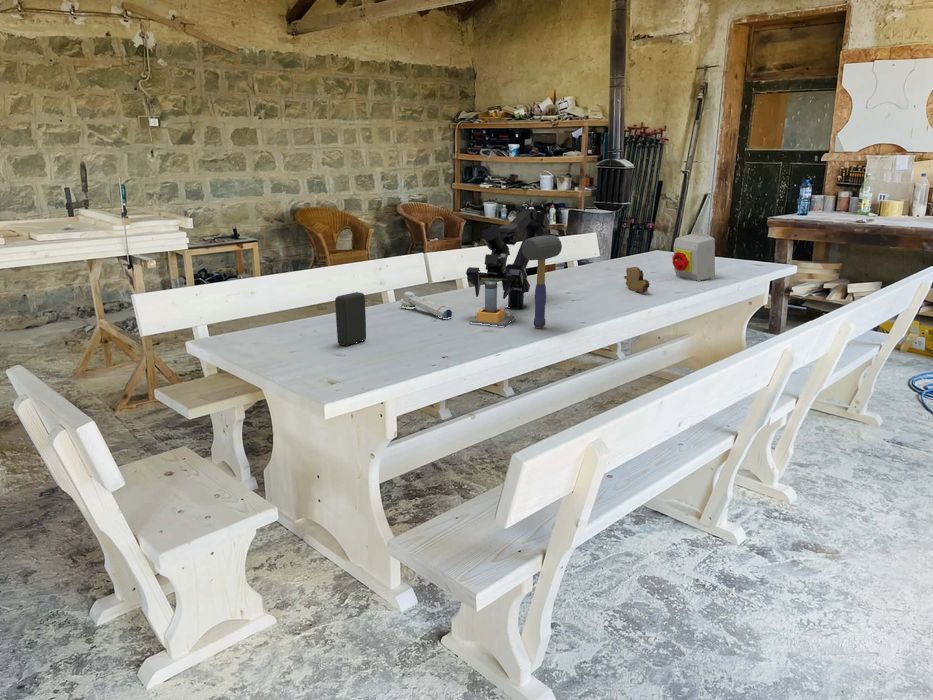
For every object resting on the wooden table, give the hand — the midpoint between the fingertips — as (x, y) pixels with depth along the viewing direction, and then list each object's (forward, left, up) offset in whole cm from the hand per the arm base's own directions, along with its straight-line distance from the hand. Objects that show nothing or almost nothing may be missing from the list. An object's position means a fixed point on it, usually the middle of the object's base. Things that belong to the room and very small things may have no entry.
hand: (490, 297), depth 230 cm
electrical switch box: (-108, +56, -9) cm, 122 cm away
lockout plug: (-1, 0, -8) cm, 8 cm away
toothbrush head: (-6, -26, -10) cm, 29 cm away
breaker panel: (-3, 0, -9) cm, 10 cm away
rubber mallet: (-1, +17, -9) cm, 19 cm away
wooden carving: (-71, +38, -9) cm, 81 cm away
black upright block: (+37, -31, -9) cm, 49 cm away
